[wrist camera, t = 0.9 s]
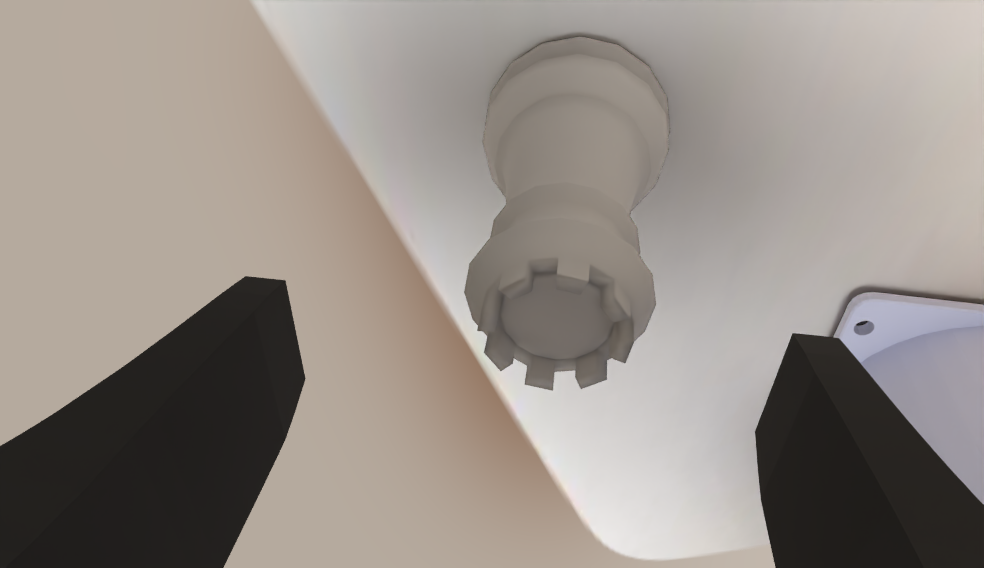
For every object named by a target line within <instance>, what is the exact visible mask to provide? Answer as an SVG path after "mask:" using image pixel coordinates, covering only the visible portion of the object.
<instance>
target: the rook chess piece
mask: <svg viewBox="0 0 984 568" xmlns="http://www.w3.org/2000/svg"><path fill="white" fill-rule="evenodd" d="M669 133H670V126H669V114H668V102H667V97H666V95H665V93H664V91H663V90H662V88H661V86H660V85H659V83H658V81H657V79H656V78H655V76H654V74H653V72H652V71H651V69H650V67H649V66H647V65H646V64H645V63H643V62H642V61H640V60H639V59H638V58H636V57H635V56H633V55H632V54H631V53H629V52H628V51H626V50H625V49H624V48H622V47H621V46H619V45H617V44H612V43H608V42H603V41H599V40H594V39H590V38H585V37H575V38H569V39H563V40H558V41H552V42H546V43H542V44H540V45H539V46H537V47H535V48H534V49H532V50H531V51H529V52H528V53H526V54H524V55H523V56H521V57H520V58H518V59H517V60H515V61H513V62H512V63H510V65H509V66H508V68H507V69H506V71H505V72H504V74H503V75H502V77H501V78H500V80H499V81H498V83H497V84H496V86H495V87H494V89H493V90H492V91H491V94H490V100H489V105H488V111H487V117H486V122H485V131H484V137H483V145H484V149H485V153H486V157H487V161H488V165H489V169H490V173H491V177H492V180H493V181H494V182H495V184H496V185H497V186H498V188H499V189H500V190H501V192H502V193H503V195H504V196H505V197H506V206H505V207H504V208H503V209H502V211H501V212H500V213H499V214H498V216H497V217H496V218H495V220H494V223H493V228H492V232H491V237H490V239H489V240H488V241H487V243H486V244H485V245H484V246H483V248H482V249H481V250H480V251H479V253H478V254H477V255H476V256H475V258H474V259H473V260H472V261H471V263H470V264H469V270H468V275H467V280H466V286H465V291H464V293H465V296H466V299H467V302H468V306H469V309H470V312H471V315H472V318H473V320H474V322H475V323H476V324H477V325H478V330H477V331H483V332H484V333H485V334H486V335H487V336H488V337H487V341H486V346H485V351H484V353H485V354H486V355H487V356H488V357H489V359H490V360H491V361H492V362H493V363H494V364H495V365H496V366H497V367H498V369H499V370H500V371H502V370H503V369H505V368H506V367H508V366H510V365H511V364H513V358H515V359H516V360H518V361H520V362H522V363H524V364H525V365H527V372H526V379H525V385H530V386H534V387H539V388H544V389H548V390H553V382H554V372H557V371H573V370H576V375H575V378H576V380H577V382H578V384H579V386H580V388H581V389H582V388H585V387H588V386H590V385H593V384H596V383H599V382H601V381H604V380H607V360H609V359H610V358H613V359H615V360H618V361H621V362H623V363H626V360H627V358H628V355H629V353H630V350H631V348H632V346H633V343H634V341H635V340H636V339H637V338H638V337H639V336H640V335H642V334H643V333H644V332H645V329H646V327H647V325H648V322H649V320H650V318H651V315H652V313H653V310H654V308H655V306H656V301H655V293H654V284H653V275H652V273H651V272H650V270H649V269H648V267H647V266H646V264H645V263H644V262H643V260H642V259H641V257H640V256H639V254H640V247H639V239H638V231H637V227H636V225H635V224H634V222H633V221H632V219H631V218H630V212H631V211H632V210H633V209H634V208H635V207H636V205H637V204H638V203H639V202H640V201H641V200H642V199H643V198H644V197H645V196H646V195H647V194H648V193H649V192H650V191H651V190H652V189H653V187H654V186H655V184H656V182H657V180H658V178H659V175H660V172H661V169H662V167H663V164H664V161H665V158H666V156H667V153H668V150H669V143H668V136H669Z"/></svg>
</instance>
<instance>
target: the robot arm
mask: <svg viewBox="0 0 984 568" xmlns="http://www.w3.org/2000/svg"><path fill="white" fill-rule="evenodd" d="M861 321H869V322H868V323H867V324H864V325H862V326H856V324H857V323H859V322H861ZM304 381H305V375H304V370H303V365H302V360H301V355H300V350H299V345H298V340H297V336H296V330H295V325H294V321H293V316H292V311H291V306H290V301H289V296H288V291H287V286H286V281H285V280H276V279H266V278H257V277H247V276H246V277H244V278H243V279H241V280H240V281H238V282H237V283H235V284H234V285H233V286H231V287H230V288H229V289H227V290H226V291H225V292H223V293H222V294H220V295H219V296H218V297H216V298H215V299H214V300H212V301H211V302H210V303H208V304H207V305H206V306H204V307H203V308H202V309H201V310H199V311H198V312H197V313H196V314H194V315H193V316H191V317H190V318H189V319H187V320H186V321H185V322H183V323H182V324H181V325H179V326H178V327H177V328H175V329H174V330H173V331H171V332H170V333H169V334H167V335H166V336H165V337H163V338H162V339H160V340H159V341H158V342H157V343H155V344H154V345H152V346H151V347H150V348H148V349H147V350H146V351H144V352H143V353H141V354H140V355H139V356H137V357H136V358H135V359H133V360H132V361H131V362H129V363H128V364H126V365H125V366H124V367H122V368H121V369H119V370H118V371H116V372H115V373H113V374H112V375H110V376H109V377H108V378H106V379H105V380H103V381H101V382H100V383H98V384H97V385H96V386H94V387H93V388H91V389H90V390H88V391H87V392H85V393H84V394H82V395H81V396H79V397H78V398H77V399H75V400H73V401H72V402H70V403H69V404H68V405H66V406H64V407H63V408H62V409H60V410H59V411H57V412H56V413H54V414H53V415H51V416H49V417H48V418H46V419H45V420H43V421H41V422H40V423H38V424H37V425H35V426H33V427H32V428H30V429H28V430H27V431H25V432H23V433H22V434H20V435H18V436H17V437H15V438H13V439H12V440H10V441H8V442H7V443H5V444H3V445H1V446H0V568H223V567H224V565H225V563H226V561H227V559H228V557H229V555H230V553H231V551H232V549H233V547H234V545H235V543H236V541H237V539H238V537H239V534H240V533H241V530H242V528H243V526H244V524H245V522H246V520H247V518H248V516H249V514H250V512H251V510H252V508H253V506H254V504H255V502H256V500H257V498H258V495H259V494H260V492H261V490H262V487H263V485H264V483H265V481H266V479H267V477H268V475H269V472H270V471H271V469H272V467H273V465H274V462H275V460H276V458H277V456H278V454H279V452H280V450H281V448H282V445H283V443H284V441H285V439H286V436H287V433H288V430H289V427H290V425H291V422H292V419H293V416H294V413H295V410H296V407H297V403H298V401H299V397H300V394H301V391H302V387H303V385H304ZM755 436H756V449H757V463H758V474H759V484H760V494H761V502H762V506H763V511H764V516H765V521H766V526H767V530H768V535H769V540H770V544H771V548H772V553H773V557H774V562H775V566H776V568H984V305H982V304H974V303H965V302H956V301H948V300H939V299H930V298H921V297H913V296H904V295H895V294H886V293H878V292H866V293H862V294H859V295H857V296H856V297H854V298H853V299H852V300H851V301H850V303H849V304H848V306H847V308H846V310H845V313H844V315H843V317H842V319H841V321H840V323H839V326H838V328H837V330H836V332H835V334H834V336H833V337H824V336H815V335H805V334H795V333H793V334H792V336H791V339H790V342H789V344H788V347H787V350H786V352H785V355H784V357H783V360H782V363H781V365H780V368H779V370H778V373H777V376H776V378H775V381H774V384H773V386H772V389H771V391H770V394H769V397H768V399H767V402H766V405H765V407H764V410H763V412H762V415H761V418H760V420H759V423H758V426H757V428H756V431H755Z"/></svg>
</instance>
